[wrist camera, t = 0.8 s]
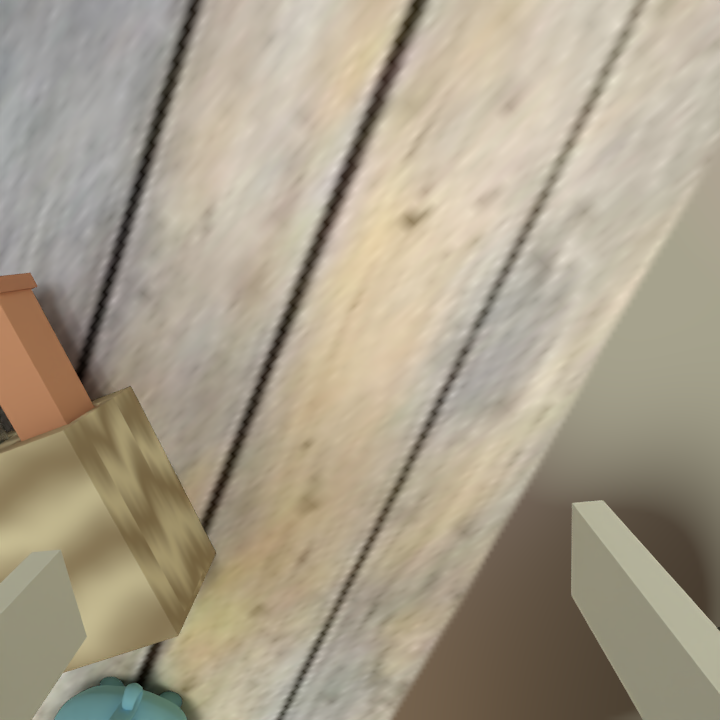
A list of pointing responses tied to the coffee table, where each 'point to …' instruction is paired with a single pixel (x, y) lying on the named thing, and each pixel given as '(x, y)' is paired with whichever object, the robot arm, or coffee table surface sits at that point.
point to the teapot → (121, 703)
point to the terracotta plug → (34, 365)
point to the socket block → (106, 524)
